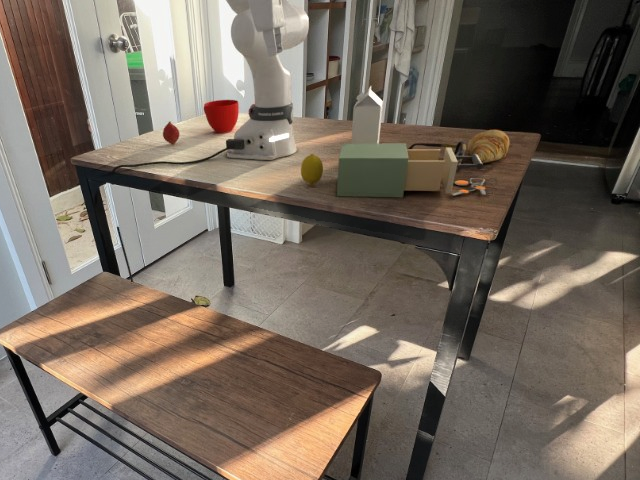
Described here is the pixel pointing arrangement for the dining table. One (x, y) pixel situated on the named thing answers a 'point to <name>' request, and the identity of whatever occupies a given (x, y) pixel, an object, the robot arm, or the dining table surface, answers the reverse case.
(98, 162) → the dining table surface
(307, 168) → the lemon
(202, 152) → the dining table surface
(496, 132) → the croissant
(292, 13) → the robot arm
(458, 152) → the sunglasses
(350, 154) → the cabinet
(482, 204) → the dining table surface
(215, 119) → the ceramic cup
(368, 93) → the milk carton
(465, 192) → the key chain
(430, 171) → the drawer
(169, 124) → the onion
